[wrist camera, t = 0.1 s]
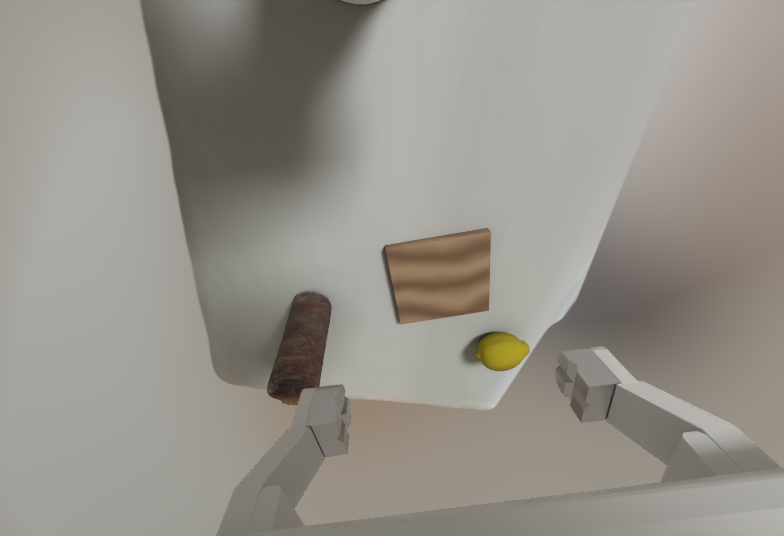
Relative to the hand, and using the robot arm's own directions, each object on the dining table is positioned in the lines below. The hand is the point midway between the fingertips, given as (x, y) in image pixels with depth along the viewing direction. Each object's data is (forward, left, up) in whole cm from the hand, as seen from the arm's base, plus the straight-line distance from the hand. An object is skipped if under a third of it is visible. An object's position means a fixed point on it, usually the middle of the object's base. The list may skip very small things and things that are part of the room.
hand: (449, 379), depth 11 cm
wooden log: (+26, -20, -39) cm, 51 cm away
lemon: (+44, +16, -39) cm, 61 cm away
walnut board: (+25, +5, -39) cm, 46 cm away
